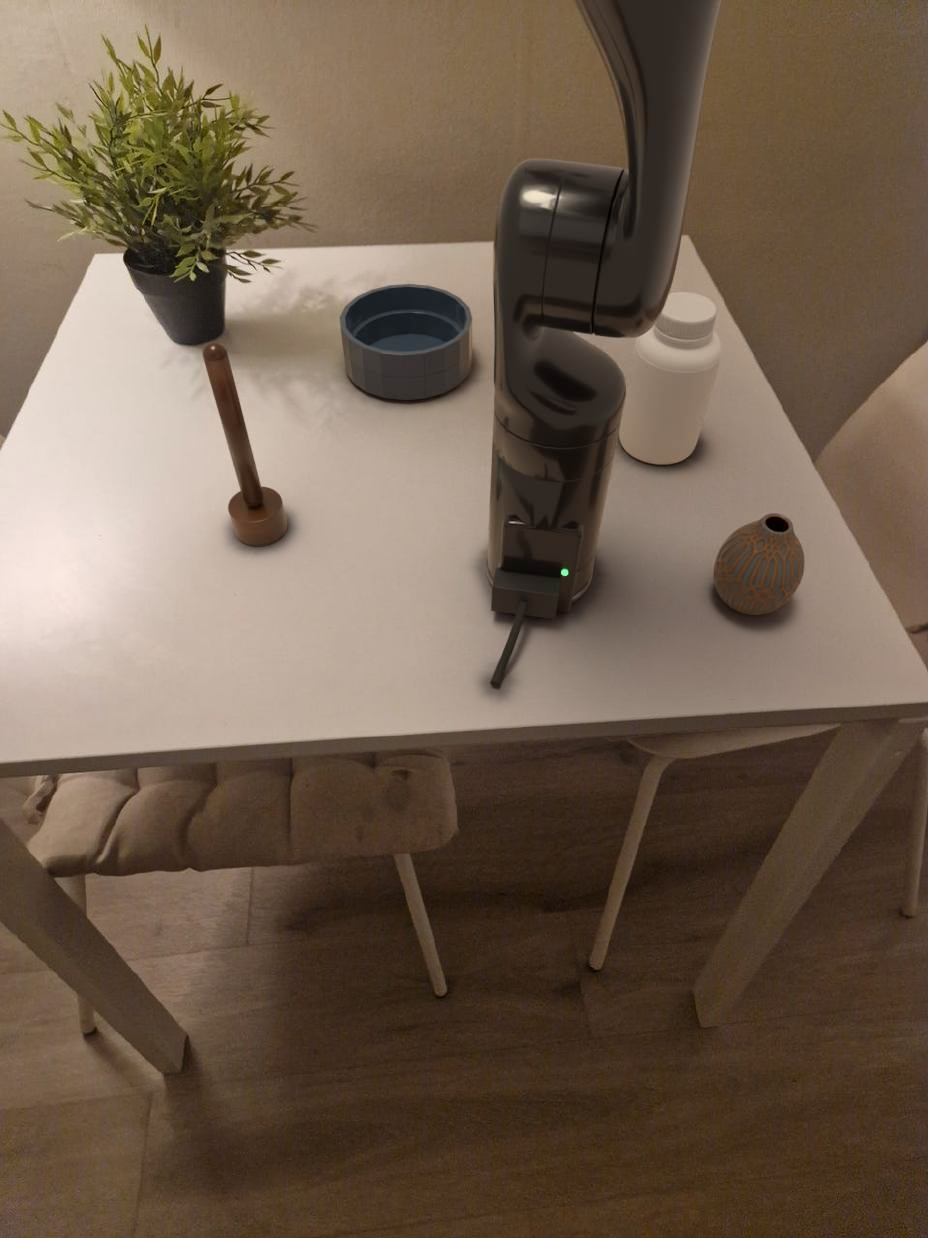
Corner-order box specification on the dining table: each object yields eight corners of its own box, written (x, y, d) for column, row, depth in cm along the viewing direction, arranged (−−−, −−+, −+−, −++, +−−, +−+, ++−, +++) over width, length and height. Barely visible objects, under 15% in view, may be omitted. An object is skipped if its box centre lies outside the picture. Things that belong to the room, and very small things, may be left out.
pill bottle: (604, 426, 83) (628, 290, 72) (673, 412, 85) (707, 277, 73) (637, 473, 79) (668, 336, 67) (709, 458, 80) (752, 322, 69)
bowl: (459, 410, 85) (459, 360, 81) (331, 396, 87) (324, 347, 82) (479, 338, 94) (480, 289, 89) (363, 326, 95) (358, 278, 91)
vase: (728, 635, 66) (759, 562, 59) (691, 576, 70) (716, 501, 63) (802, 618, 67) (841, 545, 60) (762, 561, 71) (794, 486, 64)
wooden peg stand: (278, 549, 72) (231, 364, 57) (227, 542, 72) (168, 358, 58) (294, 513, 75) (253, 329, 60) (245, 507, 75) (193, 323, 61)
